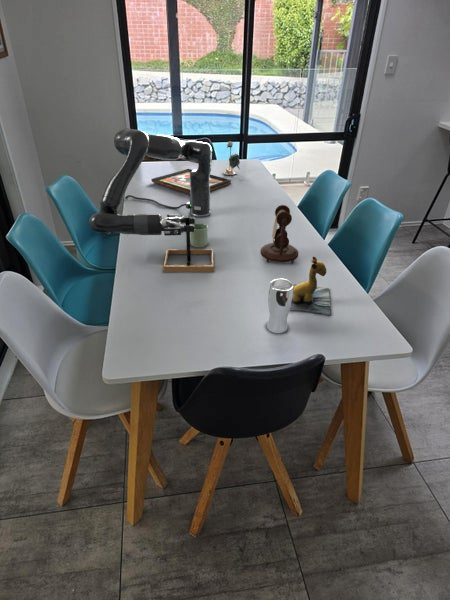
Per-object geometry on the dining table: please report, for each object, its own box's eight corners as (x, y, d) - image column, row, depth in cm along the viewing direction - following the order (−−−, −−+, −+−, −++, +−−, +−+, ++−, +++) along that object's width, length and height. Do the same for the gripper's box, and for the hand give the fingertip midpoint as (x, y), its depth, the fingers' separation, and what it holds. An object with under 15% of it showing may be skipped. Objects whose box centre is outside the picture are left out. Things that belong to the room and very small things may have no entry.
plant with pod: (241, 175, 249) (242, 141, 238) (223, 175, 247) (224, 141, 236) (238, 171, 256) (240, 138, 244) (221, 172, 254) (221, 138, 243)
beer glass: (263, 320, 122) (267, 278, 114) (286, 319, 123) (291, 277, 114) (267, 334, 116) (271, 291, 108) (291, 333, 117) (297, 290, 109)
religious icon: (234, 181, 237) (234, 177, 236) (200, 198, 212) (200, 193, 211) (183, 171, 254) (183, 166, 252) (146, 185, 229) (146, 180, 227)
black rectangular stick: (187, 260, 153) (185, 216, 143) (191, 260, 153) (189, 216, 143) (186, 265, 149) (185, 220, 139) (190, 265, 149) (189, 220, 139)
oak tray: (163, 272, 146) (163, 266, 145) (167, 254, 158) (166, 249, 156) (213, 272, 147) (213, 266, 145) (212, 254, 158) (212, 249, 157)
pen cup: (191, 240, 168) (190, 223, 164) (207, 240, 169) (207, 223, 164) (190, 248, 163) (189, 230, 158) (207, 248, 163) (207, 230, 158)
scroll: (259, 247, 164) (263, 200, 153) (295, 249, 164) (301, 201, 153) (261, 265, 152) (265, 215, 141) (299, 266, 151) (306, 216, 140)
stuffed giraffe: (330, 315, 125) (337, 269, 116) (272, 310, 128) (275, 265, 119) (328, 290, 138) (334, 247, 130) (276, 286, 141) (279, 244, 133)
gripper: (144, 222, 135) (193, 222, 136) (149, 207, 147) (194, 207, 148) (146, 242, 139) (194, 242, 140) (151, 226, 151) (195, 226, 152)
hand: (194, 224), depth 144 cm, fingers open, 6 cm apart
